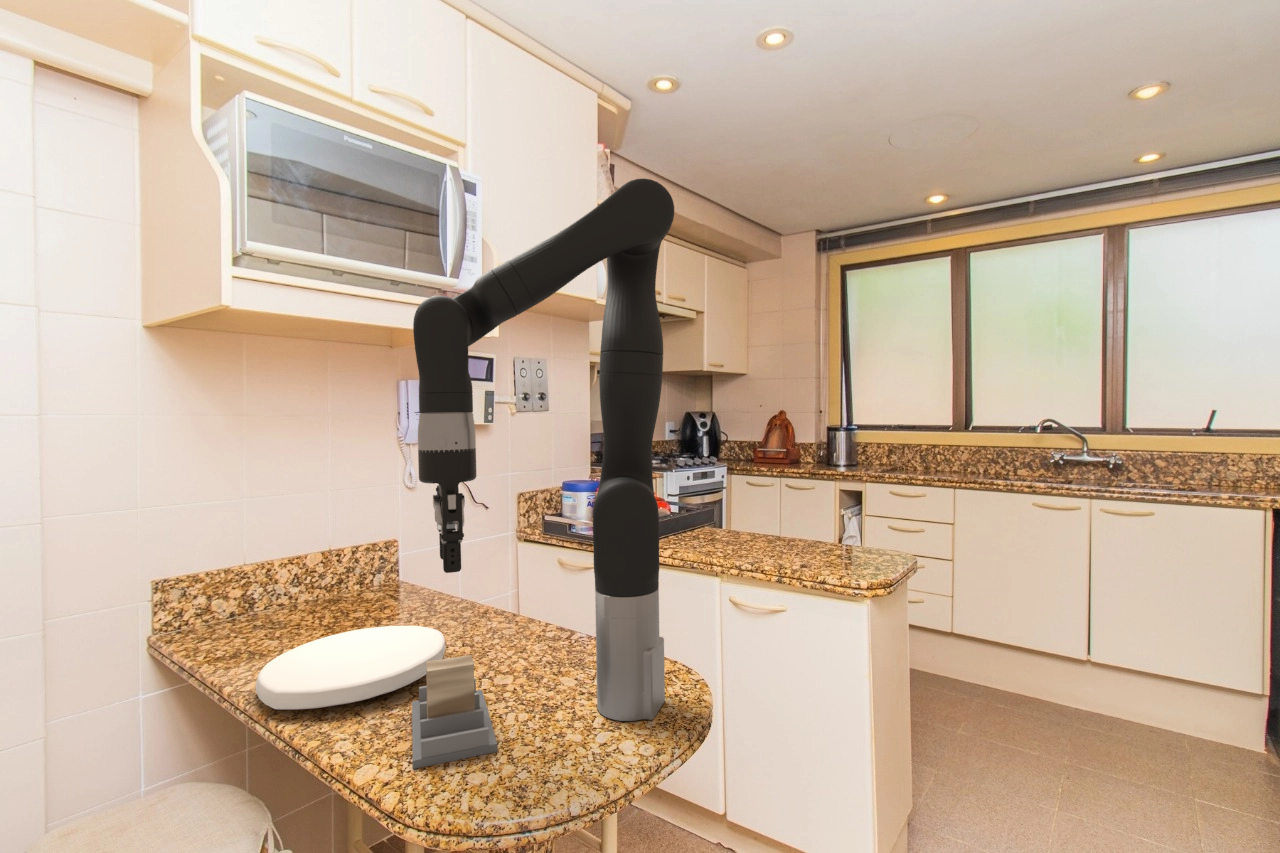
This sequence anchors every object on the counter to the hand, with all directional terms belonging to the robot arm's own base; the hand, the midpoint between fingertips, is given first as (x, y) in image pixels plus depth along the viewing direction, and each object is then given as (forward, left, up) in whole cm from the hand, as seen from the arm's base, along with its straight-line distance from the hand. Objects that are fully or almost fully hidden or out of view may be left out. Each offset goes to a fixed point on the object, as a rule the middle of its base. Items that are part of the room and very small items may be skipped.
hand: (450, 564), depth 83 cm
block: (0, +1, -21) cm, 21 cm away
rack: (0, +1, -22) cm, 22 cm away
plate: (+25, -8, -23) cm, 35 cm away
